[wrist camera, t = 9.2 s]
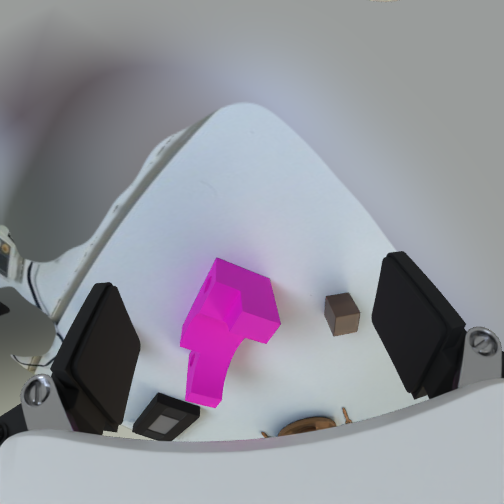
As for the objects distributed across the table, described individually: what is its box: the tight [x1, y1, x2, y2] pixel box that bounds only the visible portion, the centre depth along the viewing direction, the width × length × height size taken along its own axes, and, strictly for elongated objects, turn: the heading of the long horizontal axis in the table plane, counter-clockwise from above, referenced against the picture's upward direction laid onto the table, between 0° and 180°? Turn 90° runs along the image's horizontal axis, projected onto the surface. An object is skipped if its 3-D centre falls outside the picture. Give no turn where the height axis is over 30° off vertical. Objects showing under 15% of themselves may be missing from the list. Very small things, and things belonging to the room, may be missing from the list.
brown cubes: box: [324, 293, 360, 336], centre depth 32 cm, size 3×31×4 cm, turn 95°
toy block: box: [180, 258, 281, 408], centre depth 30 cm, size 15×6×8 cm, turn 153°
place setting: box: [261, 408, 352, 438], centre depth 48 cm, size 18×20×6 cm
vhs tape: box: [132, 393, 200, 441], centre depth 43 cm, size 8×14×2 cm, turn 146°
